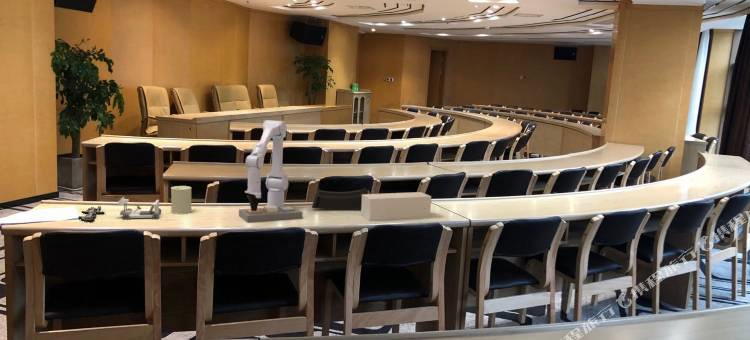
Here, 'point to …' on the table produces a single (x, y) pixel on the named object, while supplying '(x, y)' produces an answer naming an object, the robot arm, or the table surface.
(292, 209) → the key slate
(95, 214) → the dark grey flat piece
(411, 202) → the beige rectangular block
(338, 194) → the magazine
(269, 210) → the key cream
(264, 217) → the keypad
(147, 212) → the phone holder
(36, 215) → the table surface
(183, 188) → the can
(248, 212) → the key terracotta
